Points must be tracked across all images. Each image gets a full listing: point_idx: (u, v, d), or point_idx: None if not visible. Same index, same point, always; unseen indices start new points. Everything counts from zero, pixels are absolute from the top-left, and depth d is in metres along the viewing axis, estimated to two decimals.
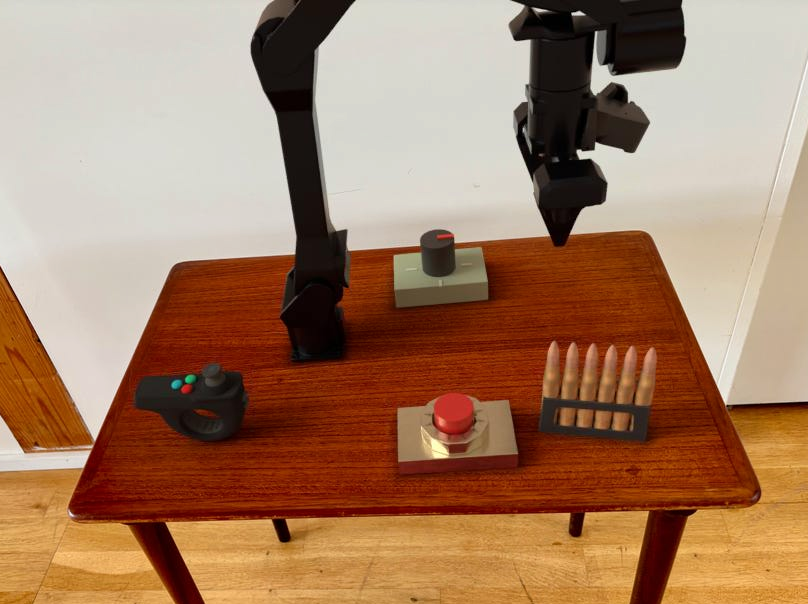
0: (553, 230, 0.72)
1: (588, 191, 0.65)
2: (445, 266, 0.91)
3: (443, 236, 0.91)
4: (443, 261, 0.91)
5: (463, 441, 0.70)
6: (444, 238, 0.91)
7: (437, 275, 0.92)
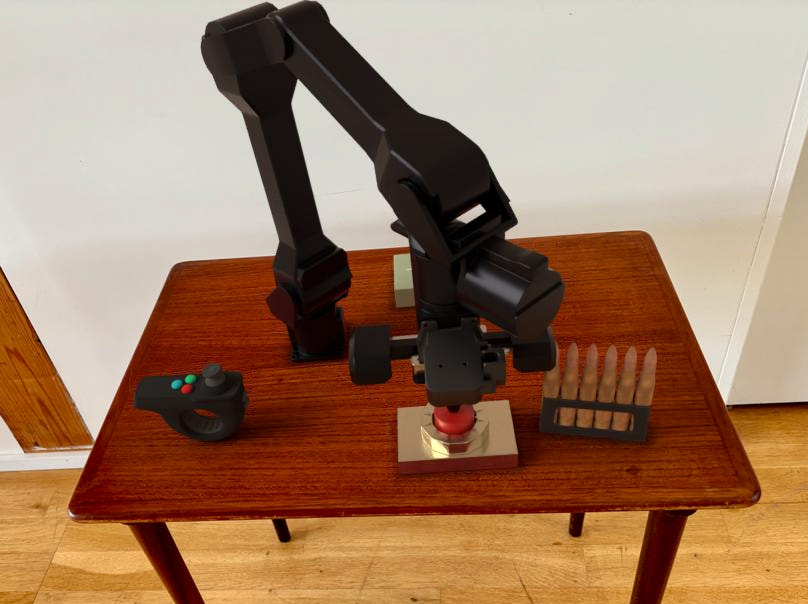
0: None
1: None
2: None
3: None
4: None
5: (463, 441, 0.70)
6: None
7: None
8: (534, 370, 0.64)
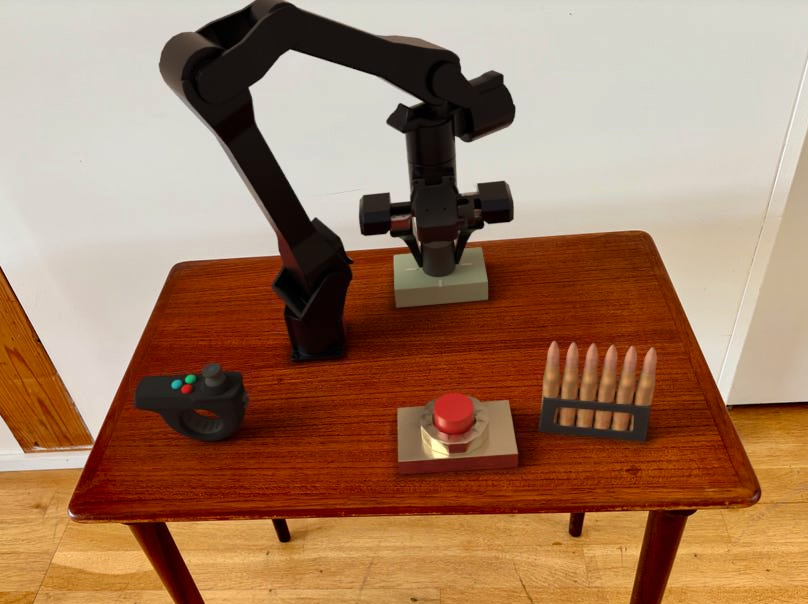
0: None
1: None
2: (445, 266, 0.91)
3: None
4: (443, 261, 0.91)
5: (463, 441, 0.70)
6: None
7: (437, 275, 0.92)
8: (497, 221, 0.86)
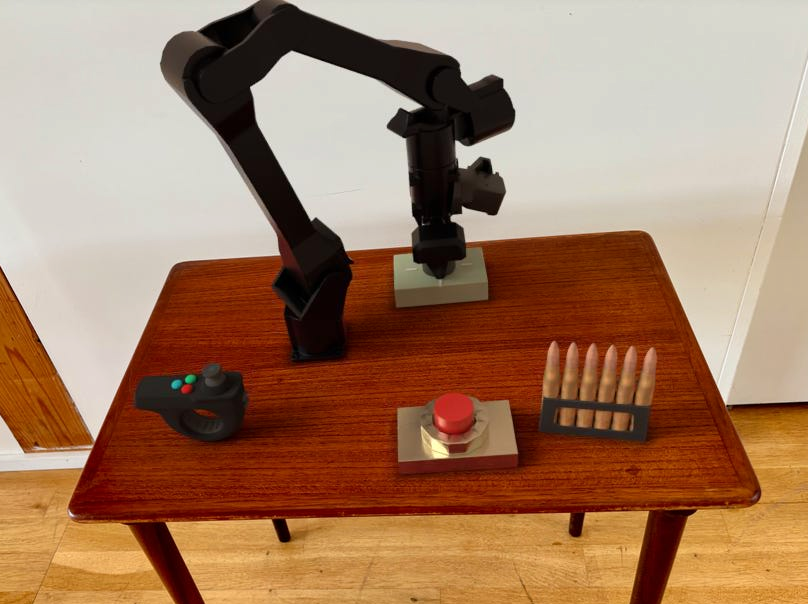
0: (432, 266, 0.90)
1: (450, 249, 0.81)
2: None
3: None
4: None
5: (463, 441, 0.70)
6: None
7: (455, 265, 0.93)
8: None
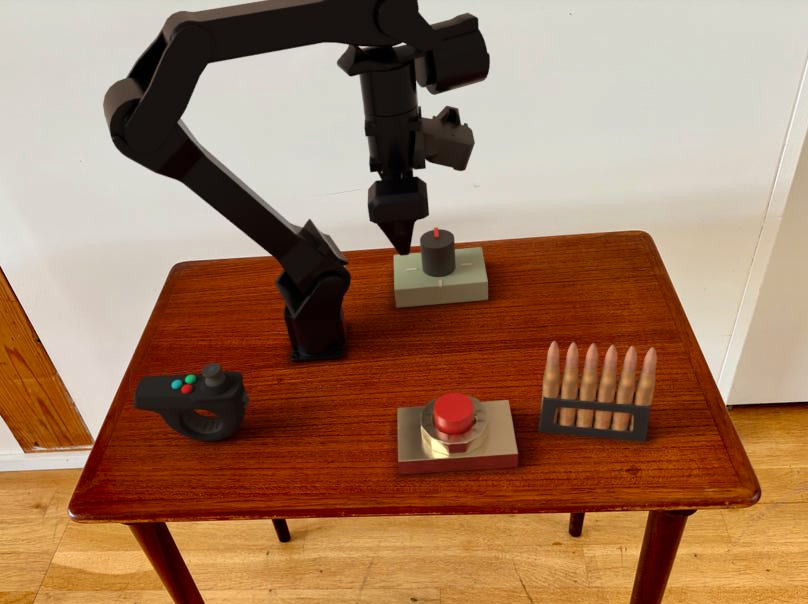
0: (394, 240, 0.79)
1: (410, 206, 0.72)
2: None
3: (437, 233, 0.91)
4: None
5: (463, 441, 0.70)
6: (438, 234, 0.92)
7: (455, 265, 0.93)
8: None
